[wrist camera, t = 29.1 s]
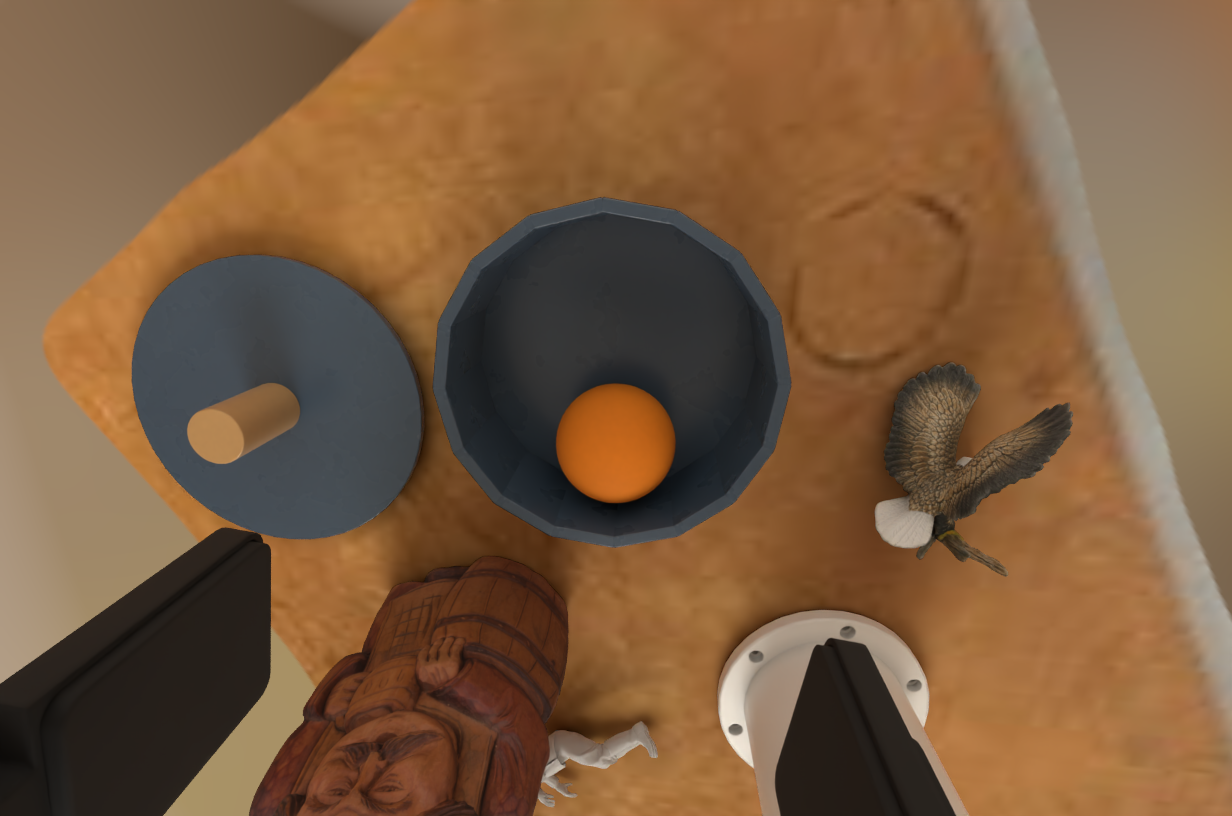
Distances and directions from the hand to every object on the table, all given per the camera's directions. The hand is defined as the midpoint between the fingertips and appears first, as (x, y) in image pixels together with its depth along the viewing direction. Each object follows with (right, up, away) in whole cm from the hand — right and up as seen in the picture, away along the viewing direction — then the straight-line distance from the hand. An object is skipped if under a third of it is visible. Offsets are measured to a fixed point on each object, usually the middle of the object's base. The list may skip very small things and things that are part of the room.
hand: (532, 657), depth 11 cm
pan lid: (-17, +4, +25) cm, 30 cm away
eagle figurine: (+19, +2, +24) cm, 30 cm away
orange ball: (+1, +2, +21) cm, 21 cm away
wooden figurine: (-7, -8, +28) cm, 30 cm away
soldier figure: (-2, -18, +31) cm, 36 cm away
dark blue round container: (+1, +7, +23) cm, 24 cm away
